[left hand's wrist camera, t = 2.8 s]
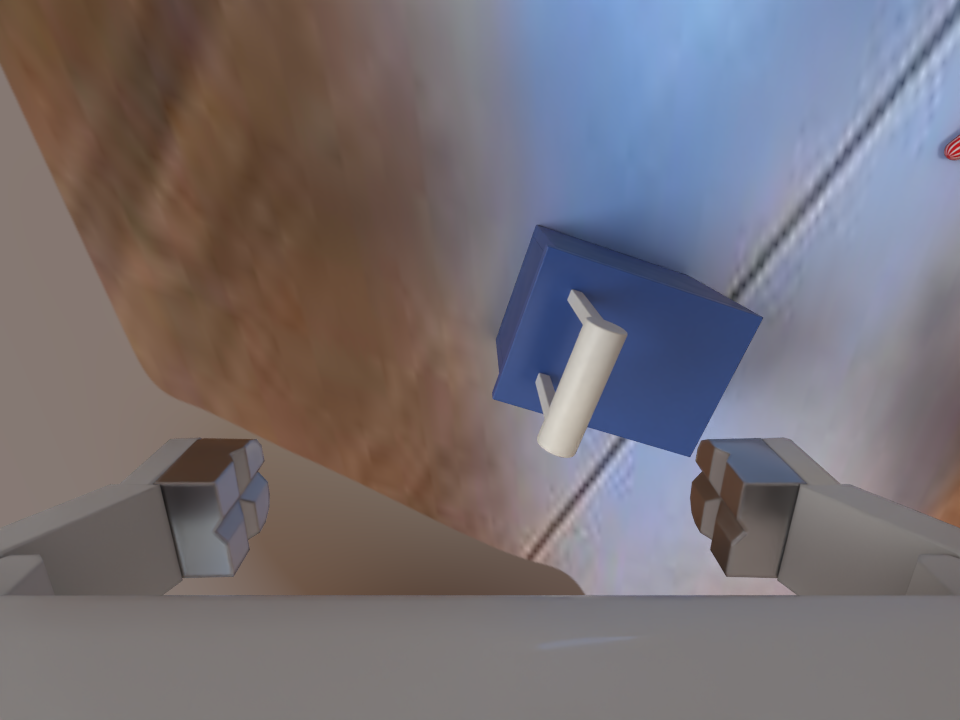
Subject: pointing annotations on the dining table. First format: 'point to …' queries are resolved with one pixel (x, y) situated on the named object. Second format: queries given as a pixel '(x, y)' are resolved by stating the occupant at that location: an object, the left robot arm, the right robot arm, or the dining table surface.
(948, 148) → the candy cane
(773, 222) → the dining table surface
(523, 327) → the lid
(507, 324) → the chest
